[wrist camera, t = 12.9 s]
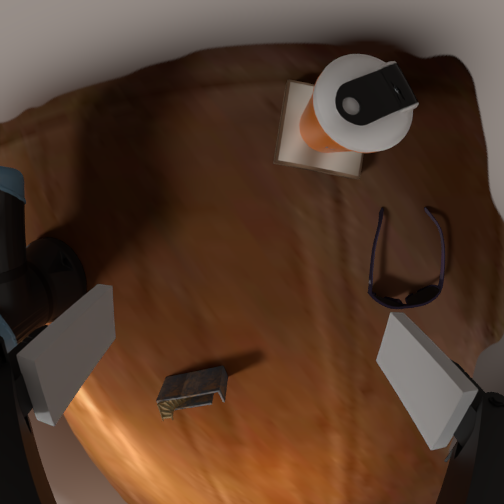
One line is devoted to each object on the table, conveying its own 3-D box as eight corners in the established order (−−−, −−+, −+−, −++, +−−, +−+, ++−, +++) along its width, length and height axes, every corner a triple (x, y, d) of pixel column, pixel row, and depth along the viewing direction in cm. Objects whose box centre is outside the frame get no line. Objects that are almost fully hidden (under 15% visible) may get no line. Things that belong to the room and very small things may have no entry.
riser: (273, 163, 45) (274, 162, 41) (285, 86, 42) (288, 78, 38) (351, 178, 46) (360, 179, 41) (362, 104, 43) (371, 98, 39)
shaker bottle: (278, 119, 40) (297, 74, 20) (329, 85, 38) (382, 26, 19) (318, 172, 41) (370, 172, 22) (368, 137, 40) (446, 116, 21)
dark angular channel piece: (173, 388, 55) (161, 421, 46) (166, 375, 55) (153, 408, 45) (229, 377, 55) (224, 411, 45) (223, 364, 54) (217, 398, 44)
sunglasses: (361, 302, 51) (370, 315, 46) (363, 207, 47) (374, 211, 42) (429, 294, 50) (443, 304, 46) (435, 205, 47) (451, 209, 42)
